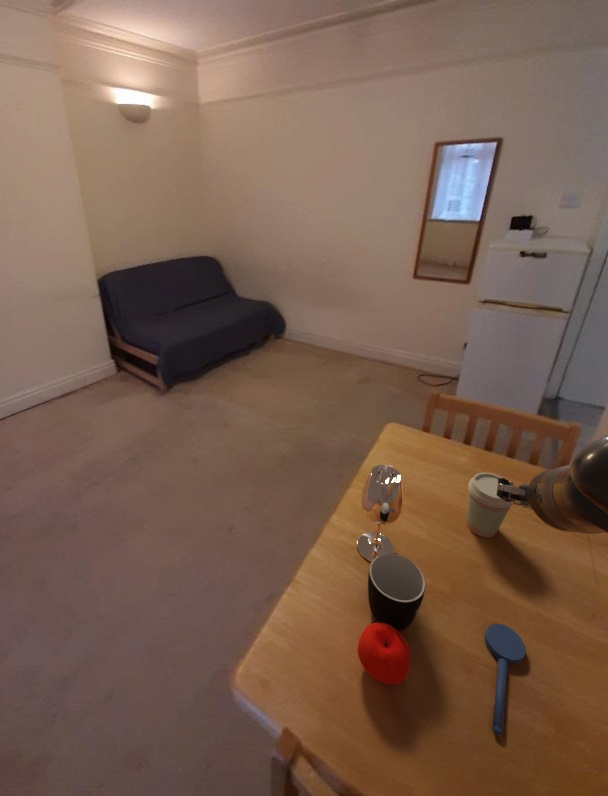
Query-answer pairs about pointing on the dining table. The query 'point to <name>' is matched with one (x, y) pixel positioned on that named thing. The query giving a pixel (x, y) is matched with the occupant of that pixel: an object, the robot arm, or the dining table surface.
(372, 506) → the wineglass
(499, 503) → the coffee cup
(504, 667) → the blue spoon
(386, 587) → the mug
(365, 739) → the dining table surface
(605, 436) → the robot arm
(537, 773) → the dining table surface
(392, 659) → the apple
